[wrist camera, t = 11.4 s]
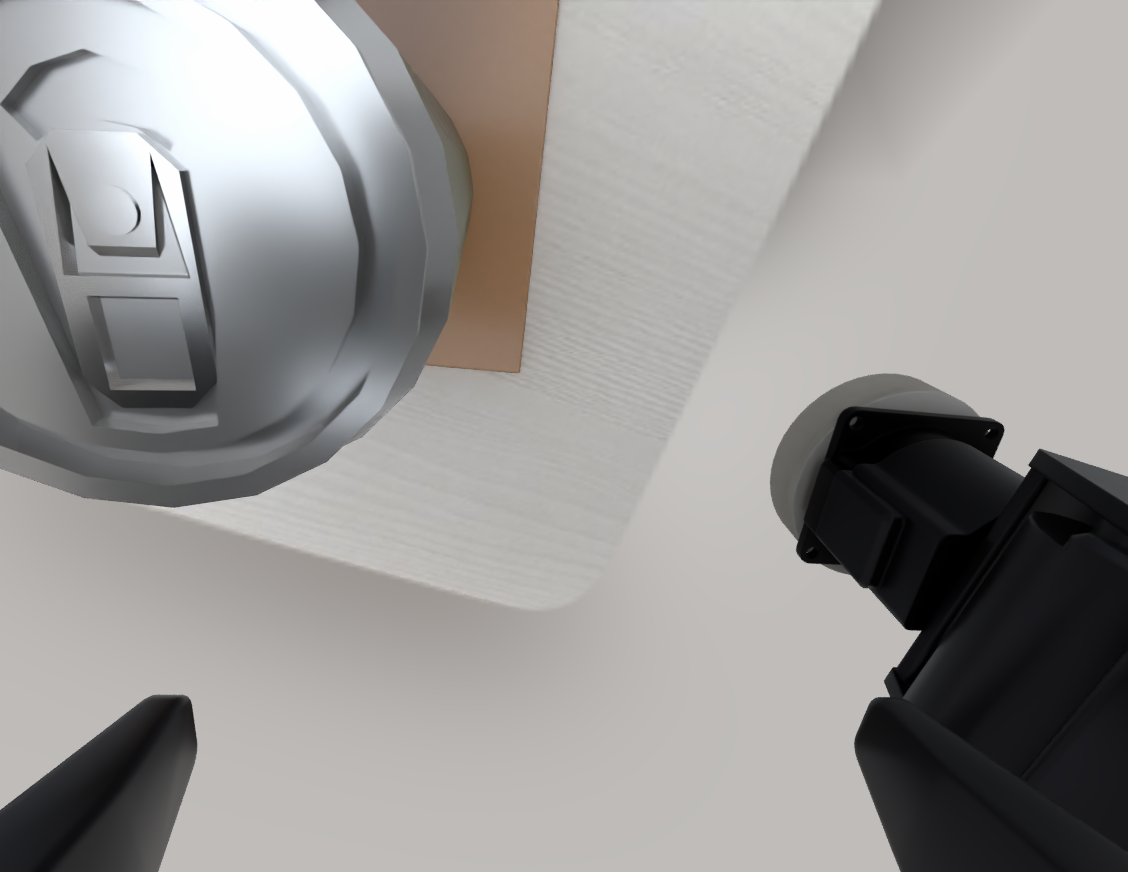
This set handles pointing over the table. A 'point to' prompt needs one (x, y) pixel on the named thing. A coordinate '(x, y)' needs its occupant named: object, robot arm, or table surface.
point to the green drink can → (213, 240)
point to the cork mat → (485, 152)
